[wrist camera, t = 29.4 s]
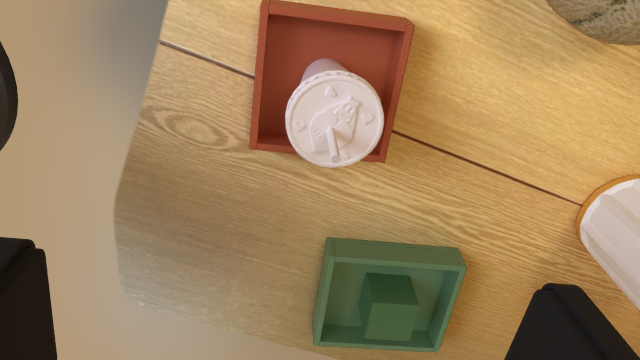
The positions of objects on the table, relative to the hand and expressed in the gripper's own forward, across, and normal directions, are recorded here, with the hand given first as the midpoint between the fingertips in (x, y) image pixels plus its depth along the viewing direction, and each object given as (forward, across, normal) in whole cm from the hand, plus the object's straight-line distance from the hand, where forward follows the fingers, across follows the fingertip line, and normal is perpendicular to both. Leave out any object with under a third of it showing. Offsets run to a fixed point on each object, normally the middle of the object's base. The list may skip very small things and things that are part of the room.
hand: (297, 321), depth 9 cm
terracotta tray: (+32, -4, +4) cm, 33 cm away
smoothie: (+32, -4, +4) cm, 32 cm away
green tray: (+32, -13, +24) cm, 43 cm away
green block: (+32, -13, +25) cm, 42 cm away
